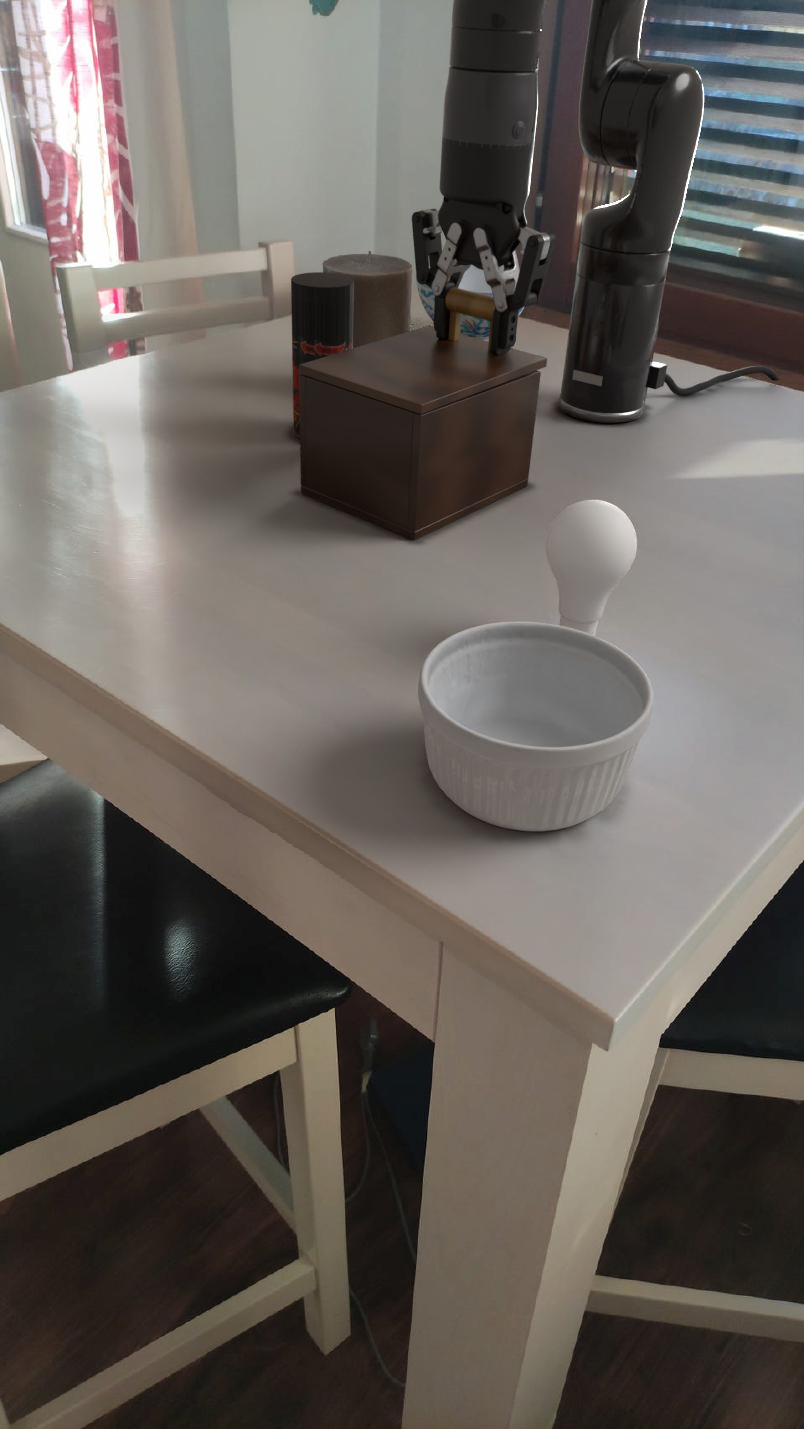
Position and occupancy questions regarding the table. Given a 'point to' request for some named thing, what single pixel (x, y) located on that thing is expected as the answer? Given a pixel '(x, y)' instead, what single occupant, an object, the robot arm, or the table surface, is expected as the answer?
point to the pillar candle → (376, 294)
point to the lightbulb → (589, 559)
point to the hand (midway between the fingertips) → (472, 344)
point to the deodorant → (319, 322)
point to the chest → (415, 453)
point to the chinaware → (468, 324)
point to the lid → (427, 362)
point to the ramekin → (531, 722)
